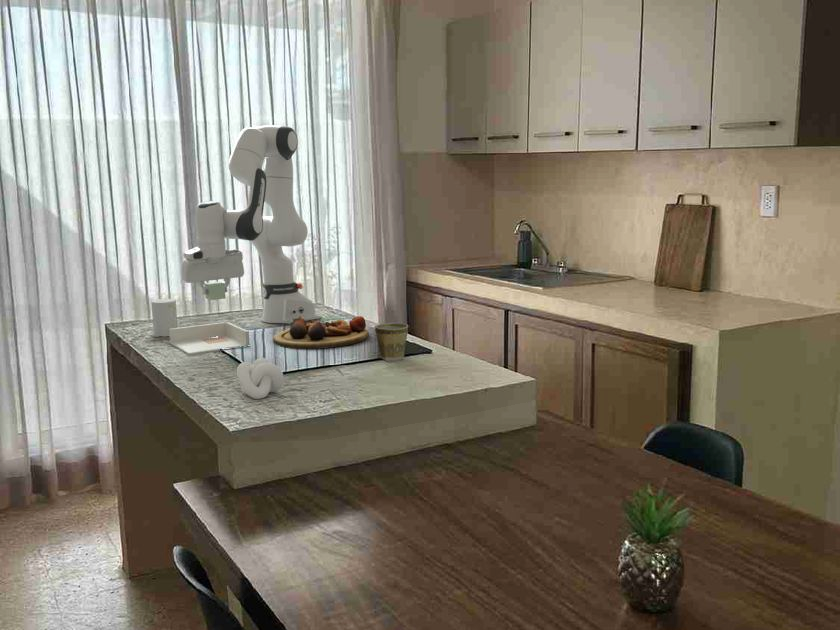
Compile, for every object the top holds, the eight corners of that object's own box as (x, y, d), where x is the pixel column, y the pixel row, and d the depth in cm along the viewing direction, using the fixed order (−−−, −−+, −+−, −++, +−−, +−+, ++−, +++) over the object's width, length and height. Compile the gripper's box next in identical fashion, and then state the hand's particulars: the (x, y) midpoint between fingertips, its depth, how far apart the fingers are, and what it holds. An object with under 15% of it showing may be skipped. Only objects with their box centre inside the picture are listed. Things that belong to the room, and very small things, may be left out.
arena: (228, 335, 284) (227, 321, 283) (249, 346, 267) (248, 331, 266) (170, 343, 273) (169, 328, 272) (188, 354, 257) (187, 339, 256)
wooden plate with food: (375, 330, 291) (374, 307, 289) (360, 349, 260) (358, 323, 258) (287, 331, 294) (286, 308, 293) (261, 351, 263) (259, 325, 262)
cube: (219, 296, 274) (218, 281, 273) (225, 298, 270) (224, 283, 269) (205, 298, 271) (204, 283, 270) (210, 300, 267) (209, 285, 266)
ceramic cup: (404, 363, 242) (404, 329, 240) (372, 362, 244) (371, 328, 242) (414, 352, 254) (413, 321, 252) (382, 351, 256) (381, 320, 254)
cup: (174, 336, 284) (171, 302, 282) (150, 337, 284) (147, 302, 282) (181, 331, 292) (178, 298, 290) (158, 332, 292) (155, 298, 290)
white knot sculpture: (287, 388, 217) (286, 355, 216) (281, 401, 205) (279, 366, 204) (244, 389, 217) (242, 356, 215) (236, 402, 205) (233, 367, 204)
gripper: (238, 247, 276) (241, 288, 279) (178, 253, 265) (181, 295, 267) (245, 249, 271) (248, 290, 274) (184, 255, 259) (188, 298, 262)
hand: (215, 293), depth 270 cm, fingers closed on cube, 5 cm apart
